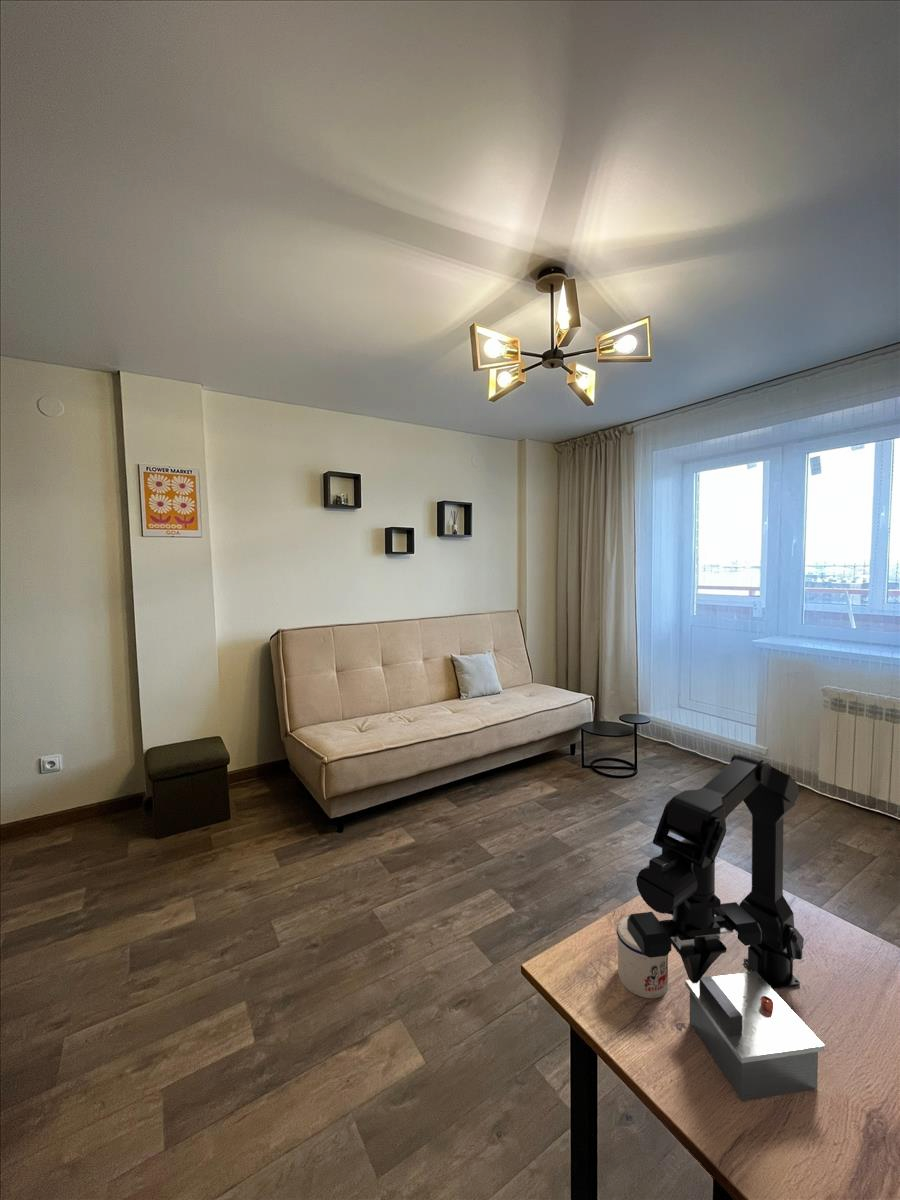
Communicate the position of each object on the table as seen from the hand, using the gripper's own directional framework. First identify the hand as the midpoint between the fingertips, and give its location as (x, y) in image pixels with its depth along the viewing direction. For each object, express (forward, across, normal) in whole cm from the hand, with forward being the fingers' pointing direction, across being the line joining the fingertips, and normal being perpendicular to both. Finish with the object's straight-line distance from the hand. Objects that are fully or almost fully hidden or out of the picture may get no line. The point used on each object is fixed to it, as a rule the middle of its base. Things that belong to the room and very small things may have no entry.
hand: (692, 980), depth 73 cm
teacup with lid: (+13, -1, -16) cm, 20 cm away
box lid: (+6, -9, 0) cm, 11 cm away
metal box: (+13, -9, 0) cm, 16 cm away
